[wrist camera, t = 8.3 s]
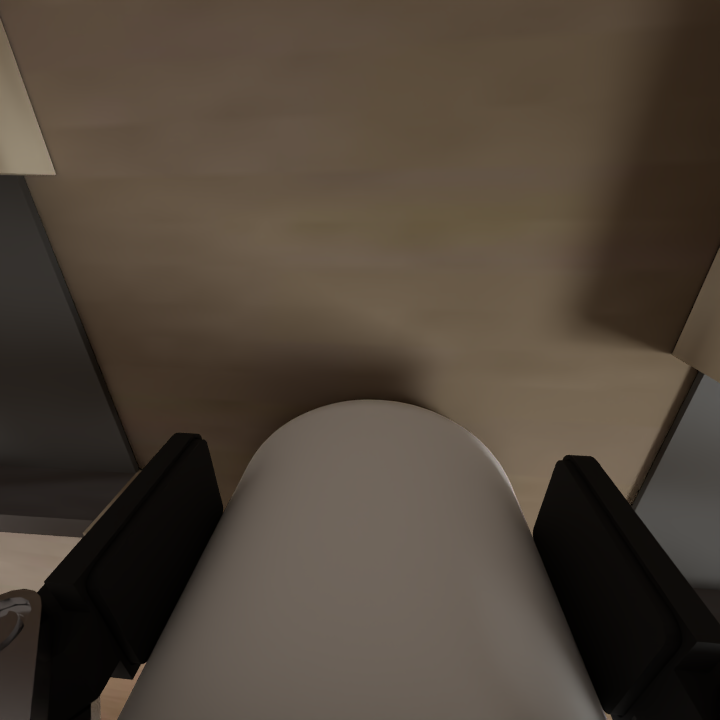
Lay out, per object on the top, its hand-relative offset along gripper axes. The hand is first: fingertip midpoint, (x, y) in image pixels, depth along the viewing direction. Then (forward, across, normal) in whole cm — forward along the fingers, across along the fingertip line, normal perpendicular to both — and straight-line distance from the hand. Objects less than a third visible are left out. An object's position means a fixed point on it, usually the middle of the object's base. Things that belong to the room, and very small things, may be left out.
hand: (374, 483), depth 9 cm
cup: (+3, 0, +4) cm, 5 cm away
